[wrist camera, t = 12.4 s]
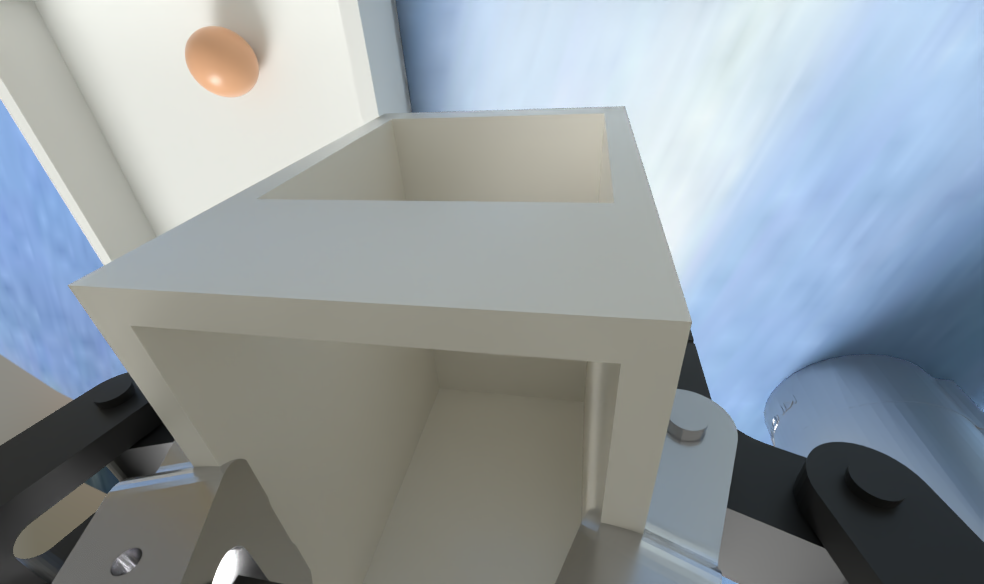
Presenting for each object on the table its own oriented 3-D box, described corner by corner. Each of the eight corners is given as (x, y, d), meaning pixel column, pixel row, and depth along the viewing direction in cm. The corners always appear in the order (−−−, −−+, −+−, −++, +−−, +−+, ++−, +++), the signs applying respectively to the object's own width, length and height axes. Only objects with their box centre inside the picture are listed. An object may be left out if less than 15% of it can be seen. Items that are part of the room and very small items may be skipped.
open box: (624, 105, 9) (690, 321, 3) (597, 397, 13) (601, 715, 7) (384, 113, 9) (67, 284, 4) (434, 382, 14) (322, 652, 8)
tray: (387, -52, 19) (345, -63, 16) (442, 320, 30) (424, 359, 27) (23, -17, 23) (-74, -20, 19) (190, 303, 33) (147, 335, 30)
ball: (271, 53, 22) (235, 7, 20) (270, 107, 22) (233, 68, 19) (214, 57, 23) (169, 12, 20) (212, 112, 22) (166, 74, 19)
